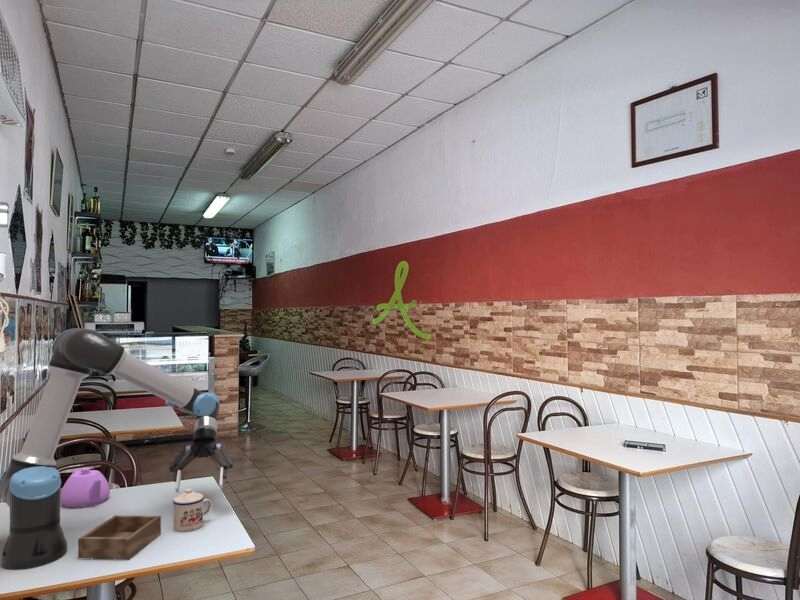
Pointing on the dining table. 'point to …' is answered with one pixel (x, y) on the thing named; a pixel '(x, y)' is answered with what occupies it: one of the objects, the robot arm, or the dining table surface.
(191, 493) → the teacup with lid
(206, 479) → the dining table surface
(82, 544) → the walnut crate
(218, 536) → the dining table surface
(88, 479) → the teapot
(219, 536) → the dining table surface
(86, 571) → the dining table surface
